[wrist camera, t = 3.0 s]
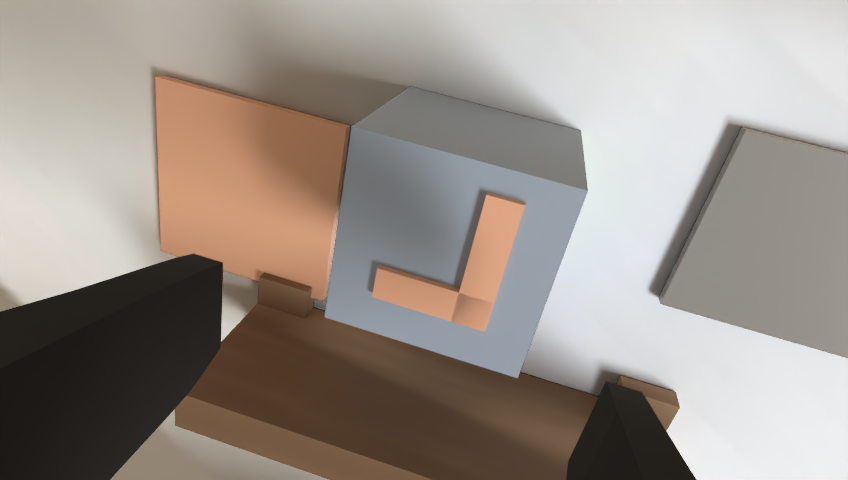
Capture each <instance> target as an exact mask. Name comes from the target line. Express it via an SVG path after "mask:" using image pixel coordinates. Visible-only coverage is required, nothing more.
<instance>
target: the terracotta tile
mask: <svg viewBox="0 0 848 480" xmlns="http://www.w3.org/2000/svg"><path fill="white" fill-rule="evenodd" d="M155 88H156V119H157V149H158V179H159V209H160V239H161V251H163V252H166V253H169V254H172V255H176V256H179V257H181V256H185V255H190V254H197V255H200V256H203V257H207V258H210V259H213V260H216V261H220V262H223V270H224V271H227V272H230V273H234V274H237V275H240V276H243V277H246V278H250V279H253V280H256V281H259V277H260V276H261V275H262V274H263V273H264V272H265V273H269V274H272V275H275V276H278V277H282V278H285V279H288V280H291V281H295V282H298V283H301V284H304V285H307V286H311V287H312V293H311V298H314V299H317V300H321V301H323V300H324V299H325V298H326V296H327V291H328V284H329V277H330V269H331V262H332V255H333V248H334V241H335V233H336V226H337V219H338V212H339V205H340V197H341V190H342V183H343V176H344V169H345V161H346V154H347V147H348V140H349V132H350V125H346V124H342V123H338V122H335V121H331V120H327V119H324V118H320V117H316V116H313V115H309V114H305V113H301V112H298V111H294V110H290V109H287V108H283V107H279V106H275V105H272V104H268V103H264V102H261V101H257V100H253V99H250V98H246V97H242V96H238V95H235V94H231V93H227V92H224V91H220V90H216V89H213V88H209V87H205V86H201V85H198V84H194V83H190V82H187V81H183V80H179V79H176V78H172V77H168V76H164V75H161V76H156V77H155Z"/></svg>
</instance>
